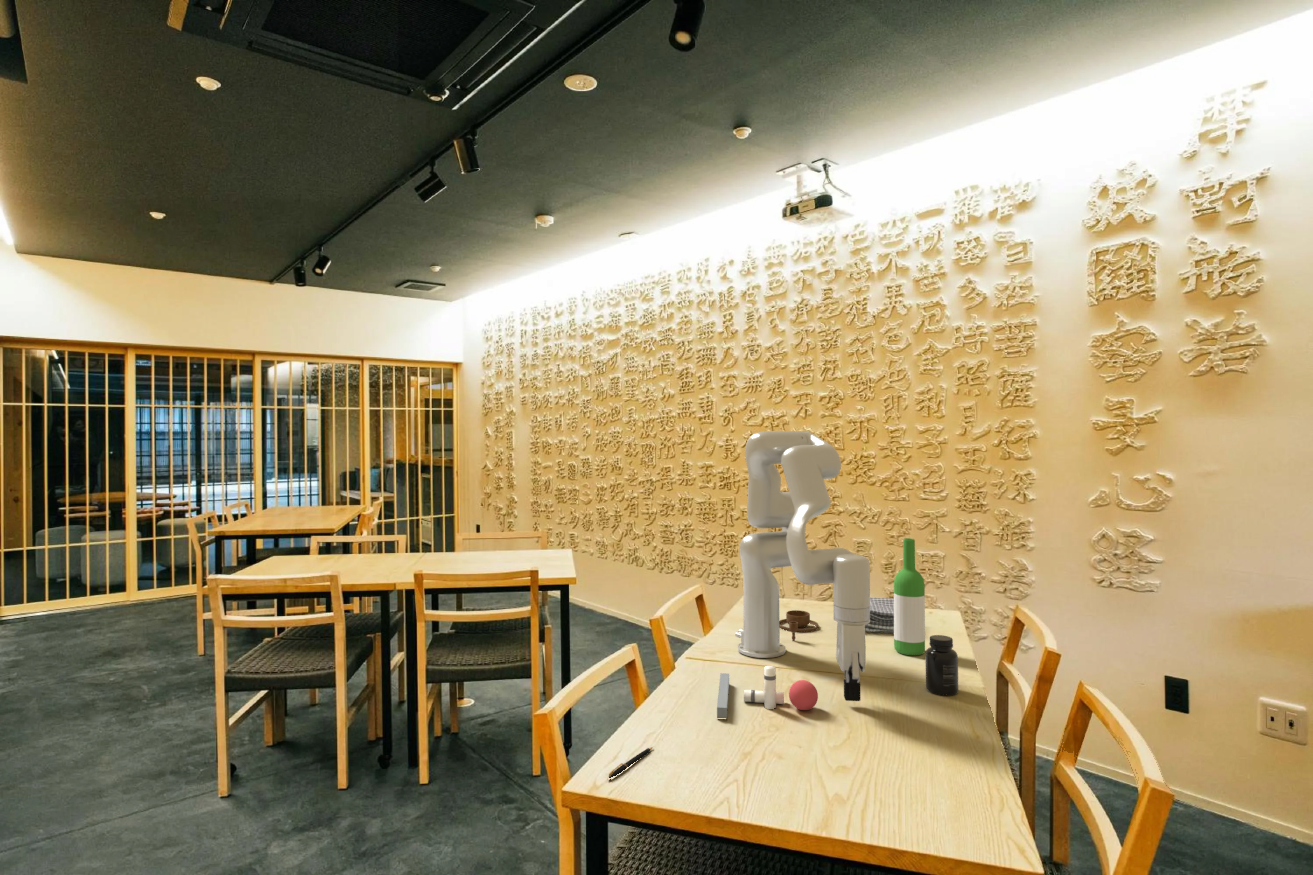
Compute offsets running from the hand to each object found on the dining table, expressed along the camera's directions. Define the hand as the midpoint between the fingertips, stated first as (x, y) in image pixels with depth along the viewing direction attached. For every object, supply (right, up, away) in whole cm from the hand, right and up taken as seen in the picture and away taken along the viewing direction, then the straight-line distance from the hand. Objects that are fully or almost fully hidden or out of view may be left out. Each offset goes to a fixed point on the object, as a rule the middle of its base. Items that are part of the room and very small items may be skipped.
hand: (852, 699), depth 146 cm
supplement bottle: (+23, -2, +8) cm, 24 cm away
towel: (+24, -2, +60) cm, 65 cm away
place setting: (-2, -2, +57) cm, 57 cm away
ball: (-11, +1, -1) cm, 11 cm away
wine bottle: (+25, -1, +36) cm, 44 cm away
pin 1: (-14, 0, +2) cm, 14 cm away
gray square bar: (-27, -2, +3) cm, 27 cm away
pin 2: (-18, -2, 0) cm, 18 cm away
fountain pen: (-46, -3, -25) cm, 52 cm away
